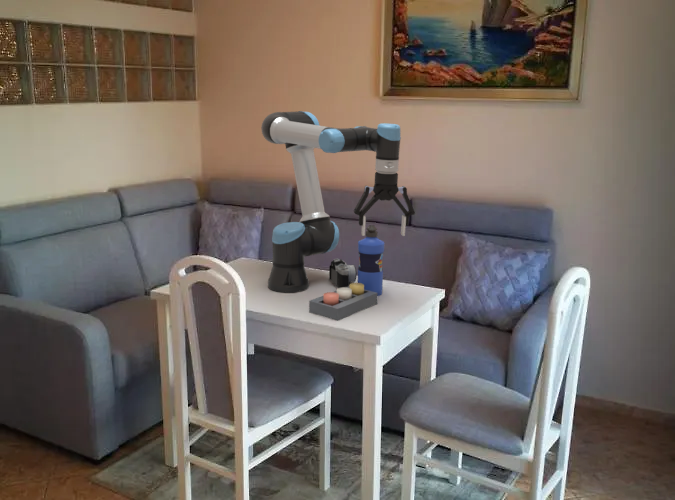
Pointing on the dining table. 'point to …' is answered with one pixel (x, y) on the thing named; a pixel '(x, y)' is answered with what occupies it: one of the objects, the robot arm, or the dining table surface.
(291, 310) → the dining table surface
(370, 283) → the water bottle
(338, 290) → the ivory button
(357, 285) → the ochre button
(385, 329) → the dining table surface
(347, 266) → the camera
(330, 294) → the coral button
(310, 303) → the console
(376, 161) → the robot arm
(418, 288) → the dining table surface
